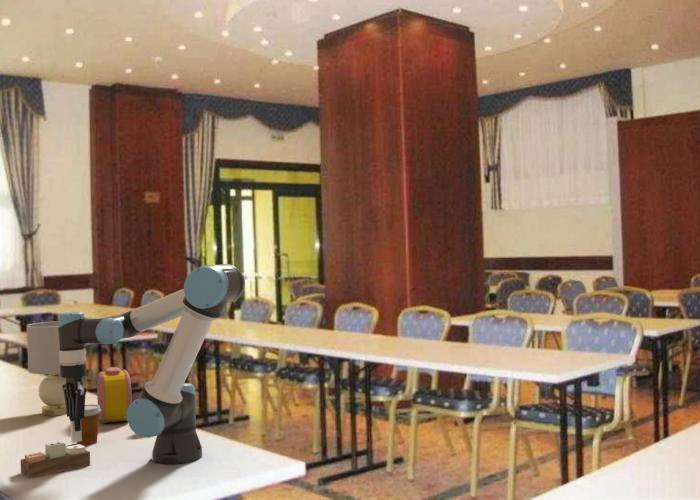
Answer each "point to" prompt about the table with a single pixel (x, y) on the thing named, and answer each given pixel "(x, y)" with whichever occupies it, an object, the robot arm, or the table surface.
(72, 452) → the key one
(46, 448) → the key two
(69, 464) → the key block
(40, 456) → the key three
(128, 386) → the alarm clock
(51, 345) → the lamp
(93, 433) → the disposable coffee cup
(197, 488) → the table surface
